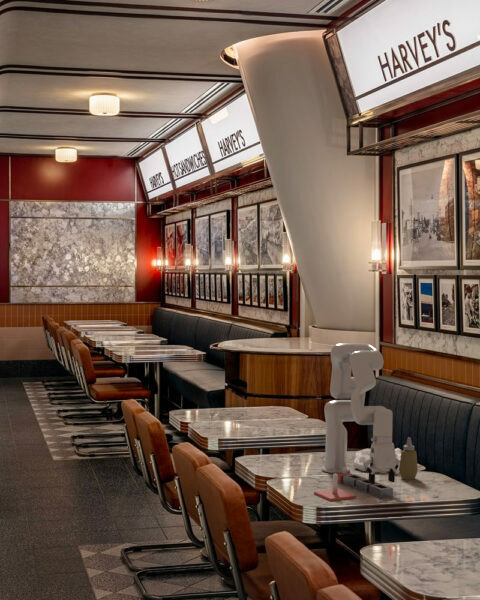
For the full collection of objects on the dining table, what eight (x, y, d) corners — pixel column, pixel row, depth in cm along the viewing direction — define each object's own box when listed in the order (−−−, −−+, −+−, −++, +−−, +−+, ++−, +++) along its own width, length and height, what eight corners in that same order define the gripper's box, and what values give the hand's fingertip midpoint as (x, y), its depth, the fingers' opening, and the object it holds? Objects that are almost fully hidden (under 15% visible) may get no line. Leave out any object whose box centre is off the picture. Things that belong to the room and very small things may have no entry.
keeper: (313, 494, 353) (314, 471, 353) (338, 491, 359) (339, 469, 359) (330, 501, 343) (331, 478, 342) (356, 498, 348) (356, 475, 348)
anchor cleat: (334, 480, 377) (335, 467, 376) (348, 479, 380) (348, 465, 380) (340, 483, 373) (340, 468, 373) (353, 481, 376) (354, 467, 376)
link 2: (355, 488, 364) (355, 480, 364) (367, 487, 367) (367, 478, 367) (367, 493, 357) (367, 484, 357) (379, 491, 360) (379, 483, 360)
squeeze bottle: (416, 477, 388) (417, 436, 387) (418, 481, 380) (419, 439, 379) (397, 476, 389) (399, 435, 388) (399, 480, 381) (400, 438, 380)
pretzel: (405, 479, 390) (405, 465, 389) (351, 477, 395) (351, 463, 394) (407, 458, 417) (407, 445, 416) (357, 456, 422) (357, 443, 421)
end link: (368, 493, 356) (368, 485, 356) (380, 492, 359) (380, 483, 359) (380, 498, 349) (380, 489, 349) (392, 496, 352) (393, 488, 352)
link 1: (343, 483, 372) (343, 475, 372) (354, 482, 375) (355, 474, 375) (354, 488, 365) (354, 479, 365) (366, 486, 368) (366, 478, 368)
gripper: (370, 442, 346) (369, 486, 346) (405, 440, 354) (404, 482, 354) (359, 439, 352) (358, 482, 352) (394, 437, 360) (393, 479, 361)
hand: (381, 482), depth 353 cm, fingers open, 9 cm apart
